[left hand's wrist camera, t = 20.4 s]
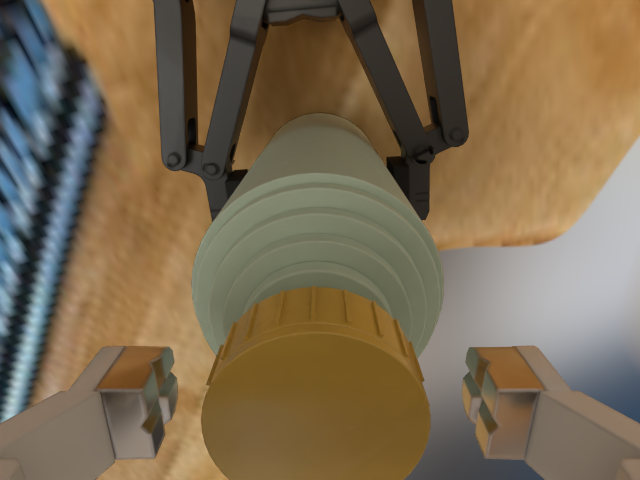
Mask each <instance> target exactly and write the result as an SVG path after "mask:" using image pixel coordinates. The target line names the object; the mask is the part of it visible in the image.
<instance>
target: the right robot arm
mask: <svg viewBox="0 0 640 480" xmlns="http://www.w3.org/2000/svg"><path fill="white" fill-rule="evenodd" d="M153 3H154V18H155V37H156V56H157V76H158V95H159V114H160V133H161V153H162V161H163V164H164V165H165V167H166V168H168V169H169V170H172V171H179V170H182V171H186V172H190V173H194V174H196V175H198V176H200V177H201V178H202V179H203V181H204V183H205V185H206V190H207V195H208V201H209V206H210V210H211V217H212V222H213V221H214V220H215V218H216V217H217V215H218V214H219V212H220V211H221V210H222V208H223V207H224V205H225V204H226V203H227V201H228V200H229V198H230V197H231V195H232V194H233V193H234V191H235V190H236V188H237V187H238V185H239V184H240V183H241V181H242V180H243V178H244V177H245V175H246V174H247V173H248V169H244V170H234V171H232V165H233V163H234V161H235V160H233V159H234V155H235V151H236V147H237V144H238V140H239V136H240V132H241V128H242V124H243V120H244V116H245V113H246V109H247V105H248V101H249V97H250V93H251V89H252V85H253V82H254V78H255V74H256V70H257V66H258V62H259V58H260V54H261V51H262V47H263V45H264V43H265V40H266V36H267V32H268V28H269V25H270V24H271V25H272V26H282V25H289V24H292V23H294V22H297V21H299V20H302V19H308V20H313V21H318V22H324V21H334V20H336V18H338V17H339V19H340V21H341V23H342V25H343V27H344V29H345V31H346V33H347V35H348V37H349V39H350V41H351V43H352V45H353V47H354V49H355V51H356V53H357V56H358V58H359V60H360V62H361V64H362V66H363V69H364V71H365V73H366V75H367V77H368V79H369V82H370V84H371V86H372V88H373V90H374V92H375V95H376V97H377V99H378V101H379V103H380V105H381V108H382V110H383V112H384V114H385V116H386V118H387V121H388V123H389V125H390V127H391V129H392V131H393V134H394V136H395V138H396V140H397V142H398V144H399V147H400V149H401V157H400V156H396V157H386V158H387V169H388V170H389V172H390V173H391V175H392V177H393V178H394V180H395V181H396V183H397V184H398V186H399V187H400V189H401V190H402V192H403V193H404V195H405V196H406V198H407V199H408V201H409V202H410V204H411V205H412V207H413V208H414V210H415V212H416V213H417V215H418V216H419V218H420V219H421V220H426V218H427V215H428V213H429V168H430V163H431V162H432V161H433V160H434V158H435V155H436V154H438V153H439V152H441V151H444V150H446V149H448V148H450V147H459V146H461V145H463V144H464V143H465V142H466V141H467V139H468V135H469V130H468V122H467V114H466V106H465V99H464V91H463V83H462V75H461V67H460V60H459V52H458V44H457V36H456V28H455V21H454V13H453V5H452V0H412V3H413V10H414V16H415V22H416V29H417V35H418V42H419V48H420V54H421V61H422V67H423V73H424V80H425V86H426V92H427V99H428V105H429V111H430V118H431V124H430V125H428V126H426V127H424V128H423V126H422V124H421V121H420V119H419V117H418V115H417V112H416V110H415V108H414V105H413V103H412V101H411V98H410V96H409V94H408V92H407V89H406V87H405V85H404V82H403V80H402V78H401V75H400V73H399V71H398V69H397V66H396V64H395V62H394V59H393V57H392V55H391V53H390V50H389V48H388V46H387V43H386V41H385V39H384V36H383V34H382V32H381V30H380V27H379V25H378V22H377V18H376V14H375V12H374V9H373V7H372V5H371V2H370V0H236V4H235V8H234V12H233V17H232V21H231V26H230V39H229V44H228V48H227V53H226V57H225V61H224V66H223V70H222V74H221V78H220V83H219V87H218V91H217V96H216V100H215V104H214V109H213V113H212V117H211V122H210V126H209V130H208V134H207V139H206V143H205V146H202V145H198V111H197V65H196V22H195V11H194V5H193V0H153Z"/></svg>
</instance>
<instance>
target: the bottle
mask: <svg viewBox="0 0 640 480" xmlns="http://www.w3.org/2000/svg"><path fill="white" fill-rule="evenodd" d="M312 286H316V287H329V288H335V289H341V290H344V289H346V290H348V292H352V293H355V294H357V295H360V296H362V297H364V298H366V299H368V300H370V301H375V302H376V303H377V305H378V306H380V307H381V308H382V309H384V310H385V311H386V312H387V313H388V314H389V315H390V316H391V317H392V318H393V319H394V320H395V319H397V320H398V322H399V325H400V327H401V329H402V330H403V332H404V334H405V336H406V338H407V339H408V342H409V341H411V342H412V345H413V348H414V351H415V354H416V357H417V358H418V357H419V356H420V355H421V353H422V352H423V350H424V349H425V347H426V345H427V344H428V342H429V340H430V338H431V335H432V333H433V331H434V328H435V326H436V324H437V321H438V318H439V315H440V311H441V308H442V302H443V296H444V276H443V268H442V263H441V259H440V256H439V252H438V249H437V247H436V245H435V243H434V241H433V238H432V236H431V234H430V233H429V231H428V230H427V228H426V227H425V225H424V224H423V222H422V221H421V219H420V218H419V216H418V215H417V213H416V212H415V210H414V208H413V207H412V205H411V204H410V202H409V201H408V199H407V198H406V196H405V195H404V193H403V192H402V190H401V189H400V187H399V186H398V184H397V183H396V181H395V180H394V178H393V177H392V175H391V173H390V172H389V170H388V169H387V167H386V166H385V164H384V163H383V161H382V160H381V158H380V157H379V155H378V154H377V152H376V151H375V149H374V148H373V146H372V145H371V143H370V142H369V140H368V138H367V137H366V136H365V134H364V133H363V132H362V131H361V130H360V129H359V128H358V127H357V126H355V125H354V124H353V123H351V122H350V121H348V120H346V119H344V118H342V117H339V116H336V115H332V114H326V113H314V114H307V115H303V116H300V117H298V118H295V119H293V120H291V121H289V122H288V123H286V124H285V125H284V126H282V127H281V128H280V129H279V130H278V131H277V132H276V133H275V135H274V136H273V137H272V138H271V140H270V141H269V143H268V144H267V145H266V147H265V148H264V150H263V151H262V153H261V154H260V155H259V157H258V158H257V160H256V161H255V163H254V164H253V165H252V167H251V168H250V170H249V171H248V173H247V174H246V175H245V177H244V178H243V180H242V181H241V183H240V184H239V185H238V187H237V188H236V190H235V191H234V193H233V194H232V195H231V197H230V198H229V200H228V201H227V203H226V204H225V205H224V207H223V208H222V210H221V211H220V212H219V214H218V215H217V217H216V218H215V220H214V221H213V222H212V224H211V225H210V227H209V229H208V230H207V232H206V234H205V235H204V237H203V239H202V241H201V243H200V246H199V249H198V251H197V254H196V257H195V262H194V266H193V272H192V298H193V303H194V308H195V312H196V316H197V318H198V321H199V324H200V326H201V329H202V331H203V334H204V337H205V338H206V340H207V342H208V344H209V346H210V348H211V349H212V351H213V352H214V353H215V355H216V356H217V353H218V351H219V348H220V345H224V342H225V340H226V338H227V336H228V334H229V332H230V329H231V326H232V323H233V322H237V321H238V320H239V319H240V318H241V316H242V315H243V314H245V313H246V312H247V311H248V310H249V309H250V308H252V306H253V304H254V303H257V304H258V303H259V302H261V301H262V300H265V299H267V298H269V297H271V296H273V295H275V294H278V293H280V291H283V290H284V291H287V290H292V289H297V288H305V287H312Z"/></svg>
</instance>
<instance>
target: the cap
mask: <svg viewBox="0 0 640 480" xmlns="http://www.w3.org/2000/svg"><path fill="white" fill-rule="evenodd" d="M423 381H424V378H423V375H422V372H421V369H420V366H419V363H418V360H417V357H416V354H415V351H414V348H413V345H412V342H411V341H409V342H408V339H407V338H406V336H405V334H404V332H403V330H402V329H401V327H400V325H399V322H398V320H397V319H395V320H394V319H393V318H392V317H391V316H390V315H389V314H388V313H387V312H386V311H385V310H384V309H382V308H381V307H380V306H378V305H377V303H376V302H375V301H370V300H368V299H366V298H364V297H362V296H360V295H357V294H355V293H352V292H348V290H346V289H344V290H341V289H335V288H329V287H316V286H312V287H305V288H297V289H292V290H287V291H284V290H283V291H280V293H278V294H275V295H273V296H271V297H269V298H267V299H265V300H262V301H261V302H259V303H258V304H257V303H254V304H253V306H252V308H250V309H249V310H248V311H247V312H246V313H245V314H243V315H242V316H241V318H240V319H239V320H238V321H237V322H233V323H232V326H231V329H230V332H229V334H228V336H227V338H226V340H225V342H224V345H220V348H219V351H218V353H217V356H216V359H215V362H214V364H213V367H212V370H211V373H210V376H209V378H208V381H207V384H206V385H209V387H208V390H207V393H206V396H205V400H204V403H203V407H202V416H201V424H202V433H203V437H204V442H205V445H206V447H207V450H208V452H209V454H210V456H211V458H212V459H213V461H214V463H215V464H216V466H217V467H218V468H219V469H220V471H221V472H222V473H223V474H224V475H225V476H226V477H227V478H228V479H229V480H404V479H405V478H406V477H407V476H408V475H409V474H410V473H411V472H412V470H413V469H414V468H415V466H416V465H417V463H418V462H419V460H420V458H421V457H422V455H423V453H424V451H425V448H426V445H427V442H428V439H429V433H430V410H429V402H428V399H427V396H426V393H425V390H424V387H423V384H422V382H423Z"/></svg>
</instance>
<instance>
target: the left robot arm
mask: <svg viewBox="0 0 640 480" xmlns="http://www.w3.org/2000/svg"><path fill="white" fill-rule="evenodd" d="M173 364H174V357H173V351H172V349H171V348H170V347H149V346H106V347H103V348H101V349H100V351H99V352H98V353H97V354H96V356H95V357H94V358H93V360H92V361H91V362H90V363H89V365H88V366H87V367H86V368H85V370H84V371H83V372H82V374H81V375H80V376H79V377H78V379H77V380H76V381H75V382H74V384H73V385H72V386H71V388H70V389H69V390H68V391H60V392H58V393H56V394H55V395H53V396H51V397H49V398H47V399H45V400H43V401H42V402H40V403H38V404H36V405H34V406H32V407H30V408H28V409H27V410H25V411H23V412H21V413H19V414H17V415H15V416H14V417H12V418H10V419H8V420H6V421H4V422H2V423H0V480H96V479H97V478H98V477H99V476H100V475H101V474H102V473H103V472H104V471H106V470H107V469H108V468H109V467H110V466H111V465H112V464H113V463H115V460H121V459H155V457H156V455H157V452H158V450H159V448H160V445H161V443H162V441H163V438H164V436H165V430H164V425H165V424H166V423H167V422H169V421H170V420H171V419H172V417H173V414H174V412H175V409H176V404H177V398H178V384H177V378H176V377H175V376H174V375H173V374H172V373H171V372H170V371H171V368H172V366H173ZM466 364H467V366H468V368H469V371H470V372H469V373H468V374H467V375H466V376H465V377H464V378H463V385H462V397H463V405H464V409H465V412H466V415H467V417H468V419H469V420H470V421H471V422H473V423H474V424H475V425H476V430H475V436H476V438H477V441H478V443H479V445H480V448H481V450H482V452H483V455H484V457H485V458H486V459H519V460H525V462H526V463H527V464H528V465H529V466H530V467H531V468H532V469H534V470H535V471H536V472H537V473H538V474H539V475H540V476H541V477H542V478H544V479H545V480H640V424H639V423H637V422H636V421H634V420H632V419H630V418H628V417H626V416H624V415H623V414H621V413H619V412H617V411H615V410H613V409H611V408H610V407H608V406H606V405H604V404H602V403H600V402H598V401H597V400H595V399H593V398H591V397H589V396H587V395H585V394H583V393H582V392H580V391H572V390H571V389H570V388H569V386H568V385H567V384H566V383H565V381H564V380H563V379H562V377H561V376H560V375H559V374H558V372H557V371H556V370H555V369H554V367H553V366H552V365H551V364H550V362H549V361H548V360H547V358H546V357H545V356H544V355H543V353H542V352H541V351H540V350H539V348H537V347H535V346H512V347H470V348H469V350H468V352H467V356H466Z"/></svg>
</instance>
